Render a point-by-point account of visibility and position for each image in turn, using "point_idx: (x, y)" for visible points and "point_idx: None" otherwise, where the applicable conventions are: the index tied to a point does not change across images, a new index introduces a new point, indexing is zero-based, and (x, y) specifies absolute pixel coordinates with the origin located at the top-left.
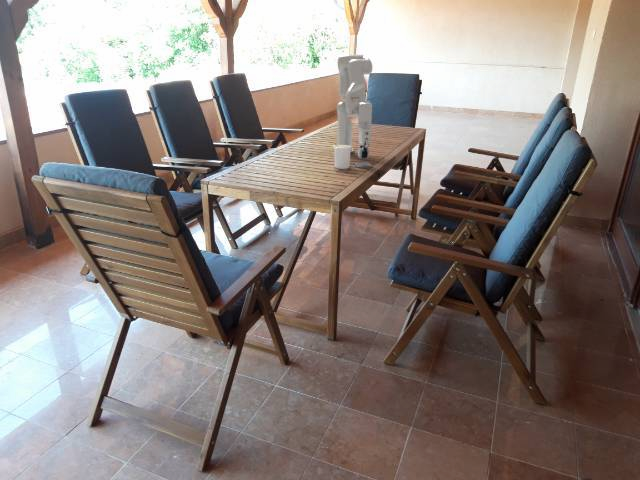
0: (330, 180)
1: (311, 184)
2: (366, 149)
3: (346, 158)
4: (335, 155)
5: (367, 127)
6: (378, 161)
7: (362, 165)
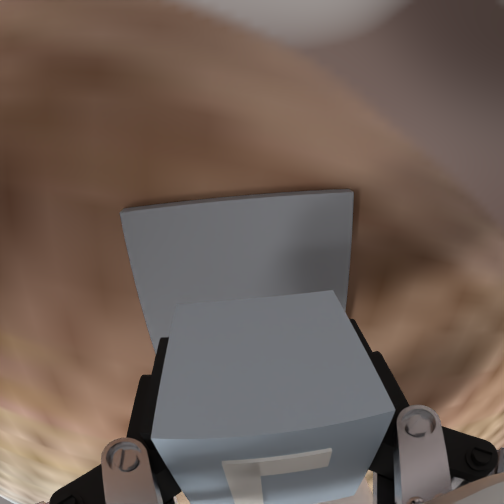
0: (484, 428)
1: None
2: (454, 446)
3: (366, 480)
4: None
5: None
6: (43, 57)
7: None
